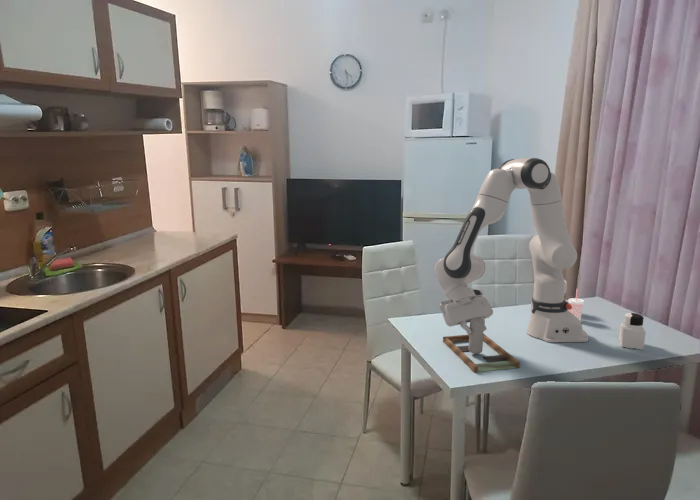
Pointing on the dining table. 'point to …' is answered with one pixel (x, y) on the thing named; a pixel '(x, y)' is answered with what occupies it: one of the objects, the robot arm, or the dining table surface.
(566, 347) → the dining table surface
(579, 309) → the beverage cup
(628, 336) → the medicine bottle
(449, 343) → the box
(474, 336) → the beverage can
